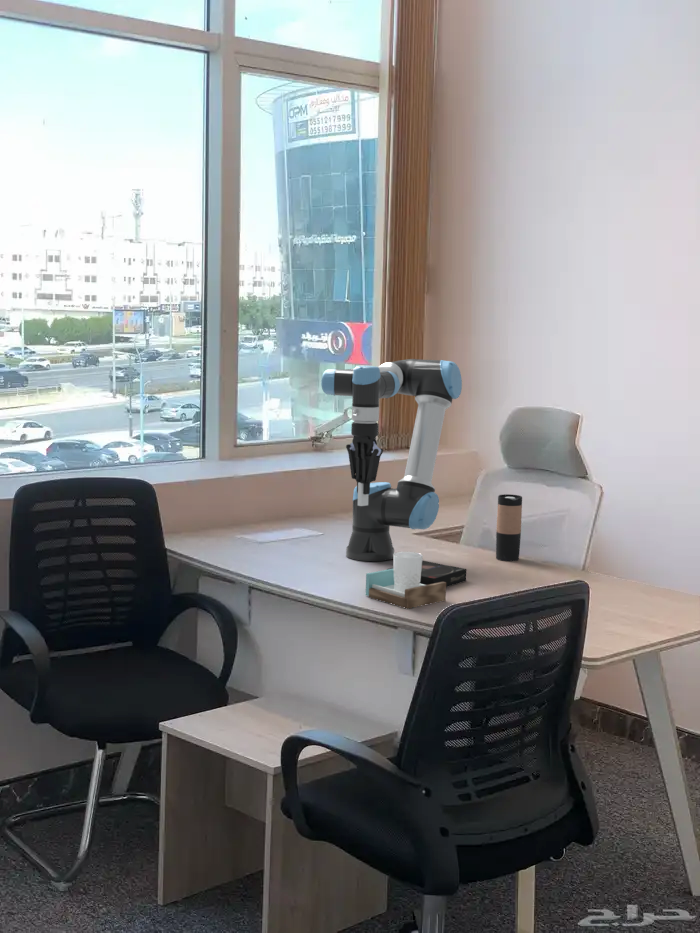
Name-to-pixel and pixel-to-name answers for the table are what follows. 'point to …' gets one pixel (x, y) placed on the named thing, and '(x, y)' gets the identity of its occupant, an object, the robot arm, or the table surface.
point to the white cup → (407, 570)
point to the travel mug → (508, 527)
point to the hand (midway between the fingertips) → (362, 505)
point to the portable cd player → (441, 574)
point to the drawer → (413, 595)
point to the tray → (382, 582)
